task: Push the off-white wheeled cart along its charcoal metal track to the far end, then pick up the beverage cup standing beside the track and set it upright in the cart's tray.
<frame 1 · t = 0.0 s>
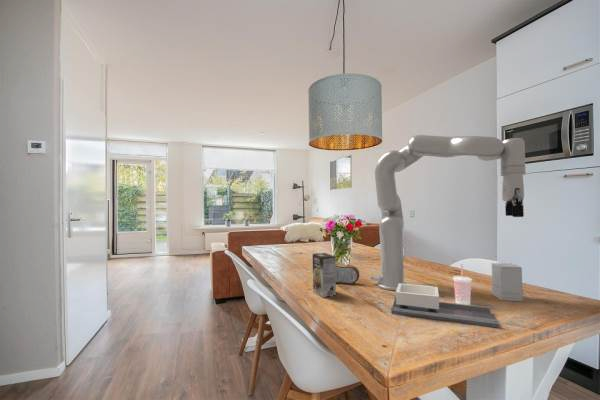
hand: (514, 216, 107), 31 cm above the table, tool pointing down, fingers open, 9 cm apart
supplement box: (507, 298, 108), on the table
beverage cup: (462, 303, 104), on the table
coffee box: (324, 294, 117), on the table
tin: (343, 283, 132), on the table
track: (440, 313, 94), on the table
cart: (417, 298, 97), point 4 cm above the table, slide at -7.0 cm
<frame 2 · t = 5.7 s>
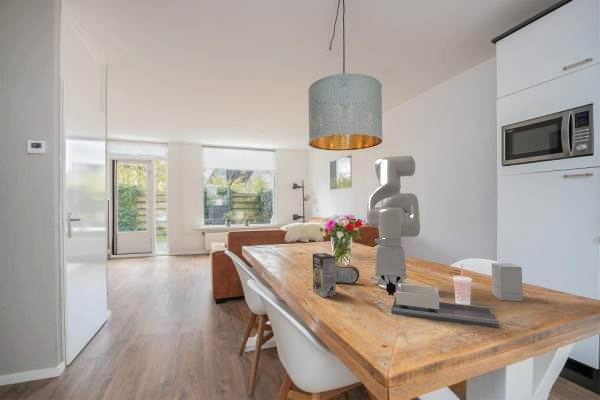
hand: (391, 294, 101), 5 cm above the table, tool pointing down, fingers closed
cart: (417, 298, 97), point 4 cm above the table, slide at -7.0 cm, touching gripper
everything else where it was.
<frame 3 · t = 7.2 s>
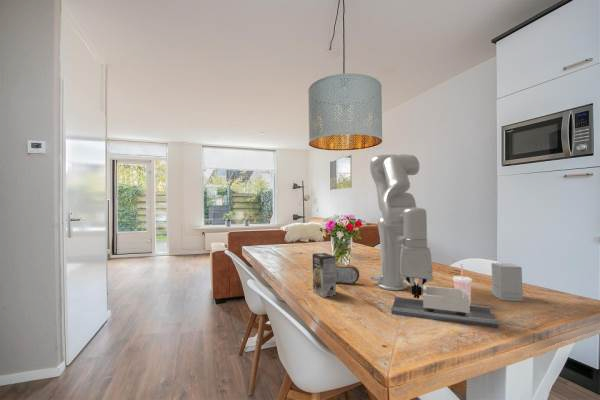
hand: (416, 296, 97), 5 cm above the table, tool pointing down, fingers closed
cart: (444, 301, 94), point 4 cm above the table, slide at 1.4 cm, touching gripper
everything else where it was.
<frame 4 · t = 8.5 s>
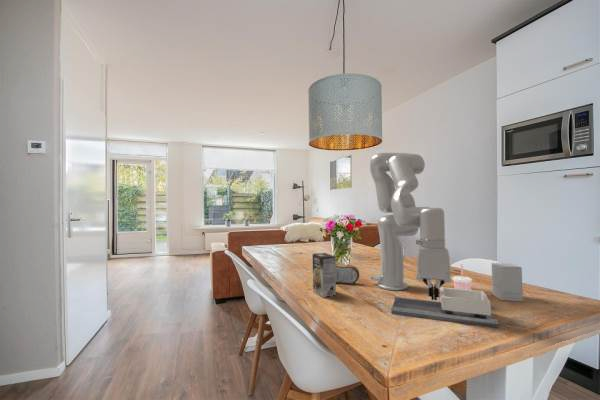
hand: (434, 298, 95), 5 cm above the table, tool pointing down, fingers closed
cart: (463, 303, 91), point 4 cm above the table, slide at 6.8 cm, touching gripper
everything else where it was.
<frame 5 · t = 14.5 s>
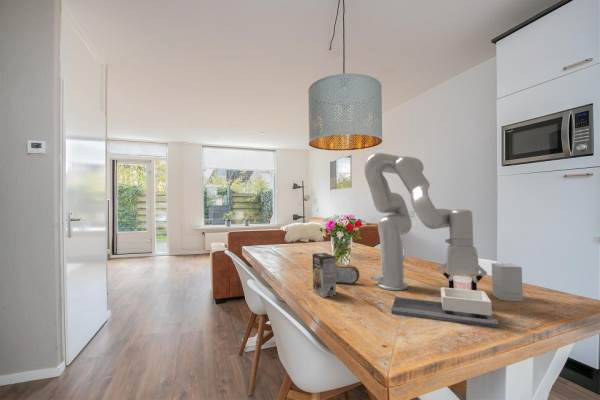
hand: (462, 291, 104), 4 cm above the table, tool pointing down, fingers closed on beverage cup, 6 cm apart
beverage cup: (462, 303, 104), on the table, touching gripper
cart: (464, 303, 91), point 4 cm above the table, slide at 7.0 cm
everything else where it was.
when the fingers open (10 cm above the table, at t = 20.7 s): beverage cup drops 2 cm, resting on cart.
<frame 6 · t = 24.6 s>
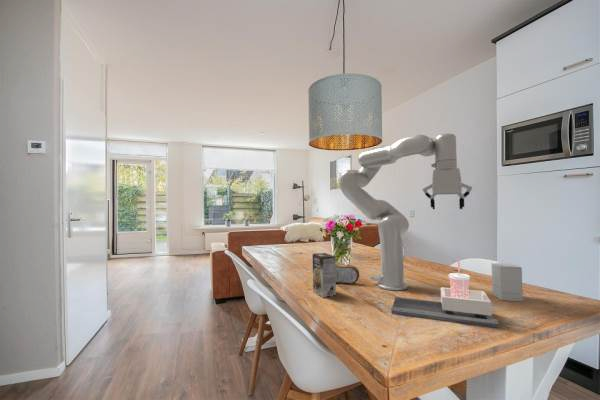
hand: (447, 209, 111), 34 cm above the table, tool pointing down, fingers open, 9 cm apart
beverage cup: (459, 303, 92), point 4 cm above the table, touching cart
cart: (463, 303, 91), point 4 cm above the table, slide at 7.0 cm, touching beverage cup
everything else where it was.
at the end: cart slide at 7.0 cm; beverage cup inside the target area on the cart (1.1 cm from its centre), point 4.0 cm above the cart's base; beverage cup tilted 0° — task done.
